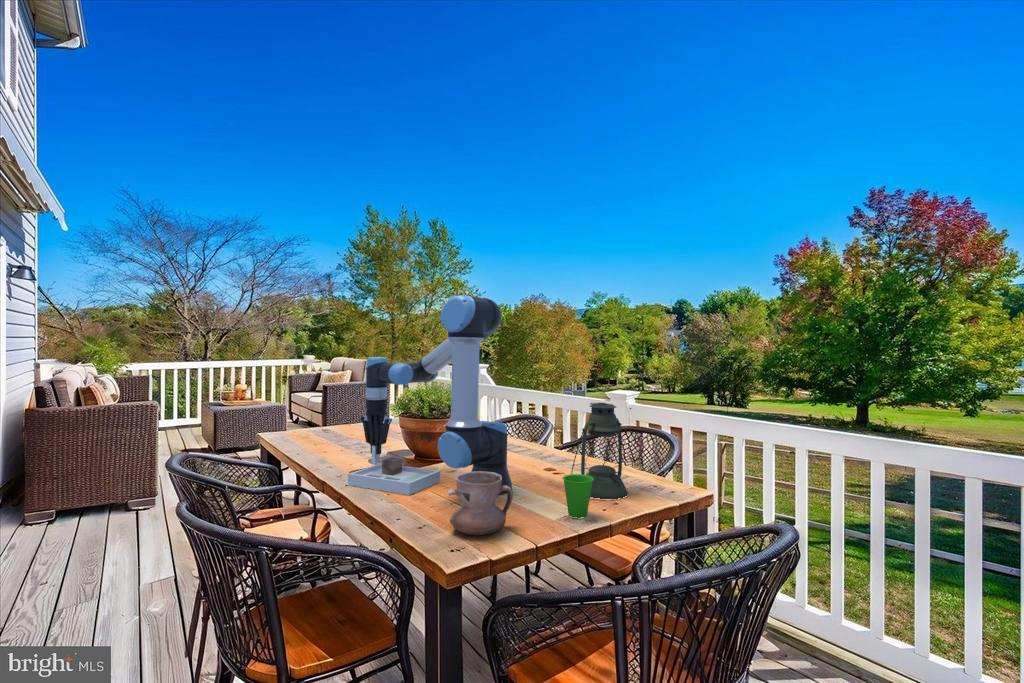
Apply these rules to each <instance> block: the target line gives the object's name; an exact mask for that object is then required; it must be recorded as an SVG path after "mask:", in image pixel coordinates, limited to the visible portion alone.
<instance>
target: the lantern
mask: <svg viewBox="0 0 1024 683" xmlns="http://www.w3.org/2000/svg"><path fill="white" fill-rule="evenodd" d="M588 407H590V409H591V412H590V413H589V415H588V421H587V422H586V423H585V425H584V427H583V428H582V429H581V431H582V432H581V436H580V439H579V442H578V446H577V448H576V451H575V455H574V459H573V463H572V466H571V467H572V468H571V473H570V474H573V471H574V466H575V462H576V458H577V454H578V450H579V448H580V444H581V456H580V458H581V462H580V464H581V465H580V472H581V473H580V474H582V475H588V476H591V477H593V479H594V481H592V488H591V494H590V497H593V498H600V499H618V498H623V497H625V496H627V494H628V495H629V491H628V490H627V488H626V485H625V484H624V481H623V480H622V478H621V477H622V471H623V445H622V444H623V443H622V442H623V440H622V427H621V426H622V423H621V422H620V421H619V419H618V418H617V415H616V414H615V408H617V406H616V405H614V404H613V403H606V402H594V403H593V402H590V403H589V406H588ZM588 435H589V436H593V437H601V438H605V437H607V438H610V437H614V439H613V441H612V443H611V444H609V445H606V446H603V447H601V448H599V449H597V450H595V449H594V448H593V447H591V446H590V444H588V442H587V436H588ZM616 438H617V442H615V440H616ZM581 441H582V442H581ZM616 443H617V444H618V450H617V453H618V456H617V457H618V460H615V459H612V458H610V457H609V455H610V453H611V450H612V449H613V445H615V444H616ZM586 444H587V445H588V447H589V448H591V449H592V450H593V452H592V453H590V454H588V456H587V457H586ZM609 446H610V449H609V450H608V454H607V455H604V454H602V453H601V452H598V451H600V450H602V449H604V448H606V447H609ZM593 453H597V454H600V455H602V456H603V457H605V460H604V462H603V463H602V464H597V465H596V464H595V465H592V466H591V467H589V468H588V467H587V460H588V458H589V457H590V456H591V455H592V454H593ZM608 459H610V460H612V461H613V462H616V463H617V464H618V465H617V466H610V465H605V464H606V462H607V460H608ZM585 468H586V470H587V471H588V472H587V473H585V472H586V470H585ZM615 468H618V469H617V470H616V469H615ZM627 497H628V496H627ZM623 499H624V498H623Z"/></svg>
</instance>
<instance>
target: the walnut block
mask: <svg viewBox="0 0 1024 683" xmlns="http://www.w3.org/2000/svg"><path fill="white" fill-rule="evenodd" d="M381 463H382V474H386V475H396V474H399V473H401V472H402V466H403V458H399V457H392V456H390V457H387V458H385V459H382V460H381Z"/></svg>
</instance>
